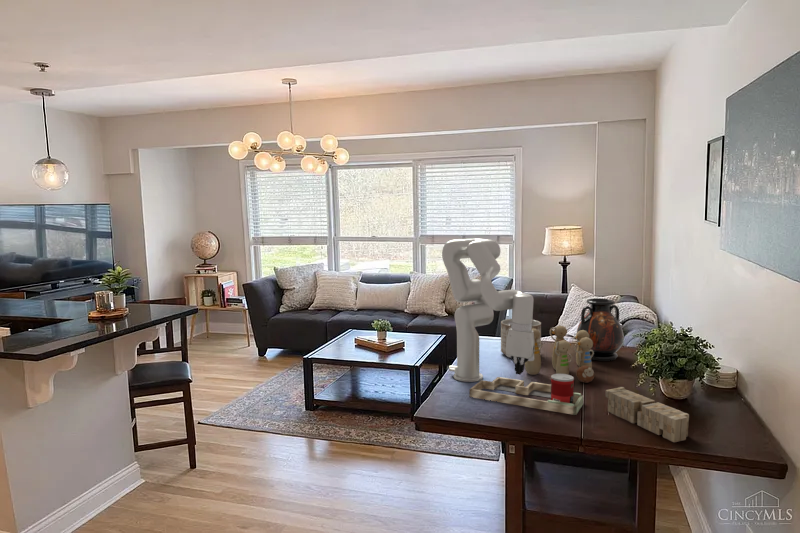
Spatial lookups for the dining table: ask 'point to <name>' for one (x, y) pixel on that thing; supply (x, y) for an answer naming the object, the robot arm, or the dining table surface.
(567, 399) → the canned food
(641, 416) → the block tower
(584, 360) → the bowling set
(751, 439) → the dining table surface
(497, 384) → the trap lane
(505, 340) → the planter
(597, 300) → the amphora vase
